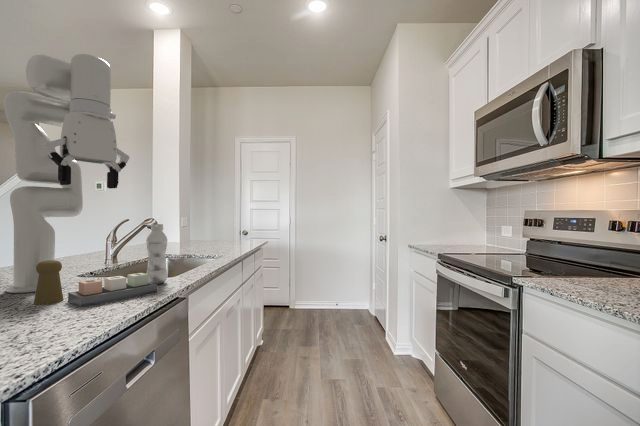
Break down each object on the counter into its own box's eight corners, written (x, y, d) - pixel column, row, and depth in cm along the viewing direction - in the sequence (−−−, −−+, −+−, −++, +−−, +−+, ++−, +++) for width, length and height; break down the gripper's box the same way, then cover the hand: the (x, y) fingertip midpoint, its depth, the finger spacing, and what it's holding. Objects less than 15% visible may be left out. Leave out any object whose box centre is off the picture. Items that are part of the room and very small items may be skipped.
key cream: (104, 288, 89) (104, 277, 89) (119, 286, 92) (120, 275, 92) (110, 290, 86) (110, 279, 86) (126, 288, 90) (126, 277, 90)
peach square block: (78, 292, 84) (78, 281, 84) (96, 290, 87) (96, 278, 87) (84, 295, 81) (84, 283, 81) (102, 292, 85) (102, 280, 85)
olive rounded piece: (46, 306, 80) (46, 262, 80) (27, 304, 81) (27, 261, 81) (69, 299, 86) (69, 259, 86) (51, 298, 87) (51, 258, 87)
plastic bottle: (144, 286, 102) (144, 224, 102) (147, 282, 108) (147, 224, 108) (166, 285, 104) (166, 224, 104) (168, 281, 110) (168, 224, 110)
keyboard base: (68, 302, 84) (68, 292, 84) (142, 288, 99) (142, 280, 99) (81, 308, 79) (81, 298, 79) (157, 293, 94) (157, 284, 94)
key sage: (127, 284, 94) (127, 274, 94) (141, 282, 97) (141, 272, 97) (133, 286, 91) (133, 276, 91) (147, 284, 94) (148, 273, 94)
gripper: (119, 124, 82) (119, 189, 82) (36, 103, 67) (35, 183, 67) (137, 120, 79) (136, 188, 79) (53, 97, 64) (52, 182, 64)
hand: (90, 186), depth 73 cm, fingers open, 9 cm apart
